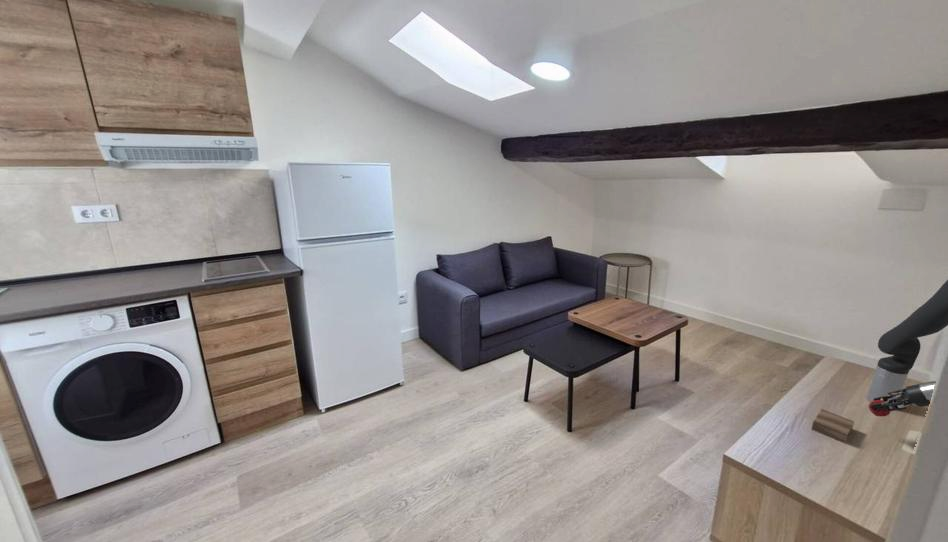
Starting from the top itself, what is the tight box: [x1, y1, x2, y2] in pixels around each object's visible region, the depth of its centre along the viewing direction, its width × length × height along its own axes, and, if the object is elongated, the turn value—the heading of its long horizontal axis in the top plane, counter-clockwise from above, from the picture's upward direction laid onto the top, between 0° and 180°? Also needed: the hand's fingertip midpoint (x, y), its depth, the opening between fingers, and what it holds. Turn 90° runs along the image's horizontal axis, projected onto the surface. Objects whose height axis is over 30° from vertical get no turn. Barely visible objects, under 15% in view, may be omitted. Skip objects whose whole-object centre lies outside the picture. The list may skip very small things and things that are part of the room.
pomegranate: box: [868, 398, 891, 417], centre depth 147 cm, size 6×6×8 cm
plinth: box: [811, 409, 855, 444], centre depth 152 cm, size 12×10×4 cm
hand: (873, 404), depth 148 cm, fingers closed on pomegranate, 5 cm apart
